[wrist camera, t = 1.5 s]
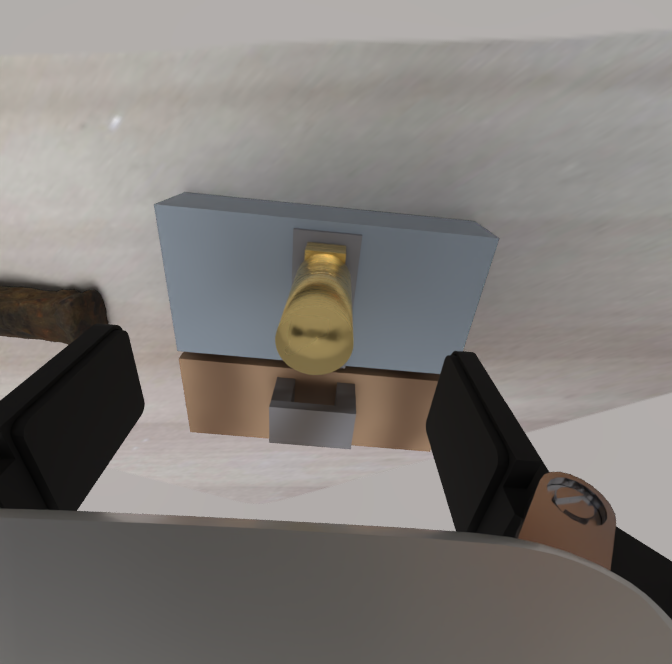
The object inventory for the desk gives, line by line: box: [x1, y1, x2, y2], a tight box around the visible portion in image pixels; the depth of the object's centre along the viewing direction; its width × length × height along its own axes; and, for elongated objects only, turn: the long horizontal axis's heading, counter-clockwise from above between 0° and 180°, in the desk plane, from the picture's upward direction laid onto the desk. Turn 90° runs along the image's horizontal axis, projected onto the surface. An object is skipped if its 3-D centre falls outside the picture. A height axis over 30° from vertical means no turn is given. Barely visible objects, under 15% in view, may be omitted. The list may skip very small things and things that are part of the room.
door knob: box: [275, 242, 354, 375], centre depth 17 cm, size 3×7×7 cm, turn 175°
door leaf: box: [154, 192, 499, 374], centre depth 22 cm, size 18×9×4 cm, turn 85°
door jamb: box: [179, 352, 440, 452], centre depth 25 cm, size 18×7×7 cm, turn 85°
